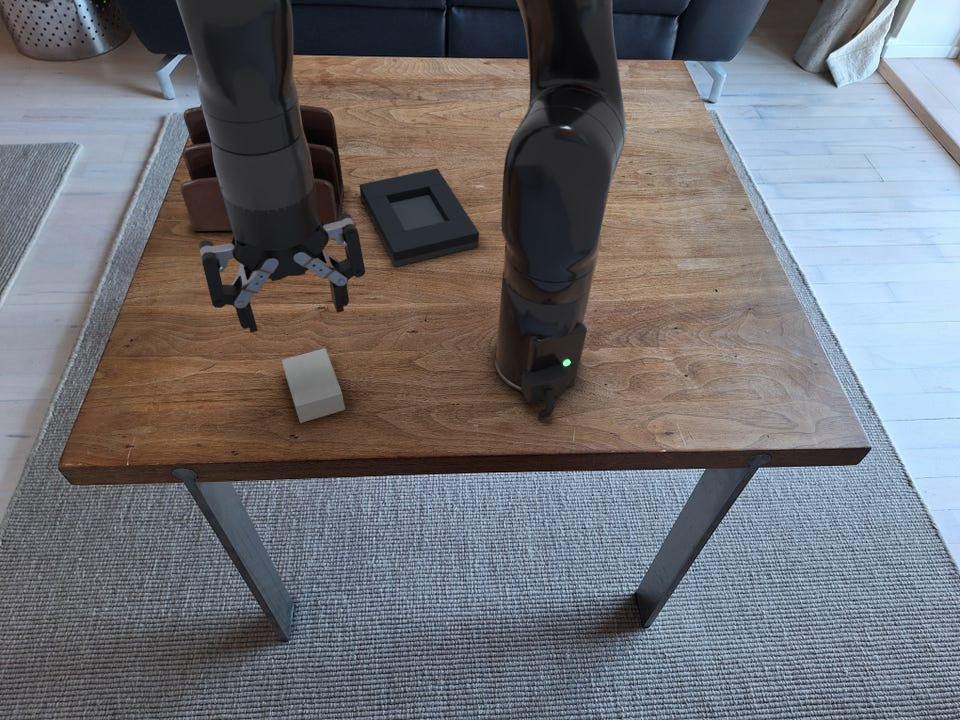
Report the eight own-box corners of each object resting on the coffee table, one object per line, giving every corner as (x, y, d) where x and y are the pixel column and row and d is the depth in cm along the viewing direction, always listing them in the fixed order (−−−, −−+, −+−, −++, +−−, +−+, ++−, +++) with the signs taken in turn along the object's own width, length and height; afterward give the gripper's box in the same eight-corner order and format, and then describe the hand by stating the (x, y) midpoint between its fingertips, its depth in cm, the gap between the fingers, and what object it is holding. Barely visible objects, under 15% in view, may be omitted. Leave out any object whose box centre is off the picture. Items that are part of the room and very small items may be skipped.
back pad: (478, 246, 96) (479, 232, 94) (395, 267, 93) (394, 252, 91) (437, 182, 105) (437, 168, 104) (360, 198, 102) (359, 184, 100)
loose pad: (345, 410, 77) (342, 393, 75) (300, 423, 76) (295, 406, 73) (328, 365, 81) (325, 347, 79) (285, 376, 80) (281, 359, 77)
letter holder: (207, 189, 102) (180, 99, 91) (344, 189, 103) (333, 100, 93) (193, 233, 96) (162, 141, 85) (339, 231, 97) (326, 141, 86)
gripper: (182, 223, 53) (229, 361, 66) (363, 189, 57) (375, 325, 70) (171, 169, 58) (217, 307, 70) (340, 141, 62) (356, 276, 74)
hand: (296, 316), depth 70 cm, fingers open, 8 cm apart
